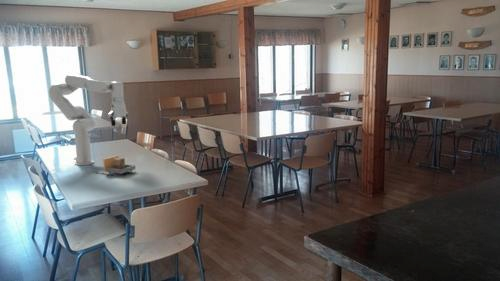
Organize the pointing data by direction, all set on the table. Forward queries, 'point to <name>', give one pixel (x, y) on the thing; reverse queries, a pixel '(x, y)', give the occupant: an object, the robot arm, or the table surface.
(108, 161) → the grey and tan frame
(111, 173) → the rail track
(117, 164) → the walnut block
